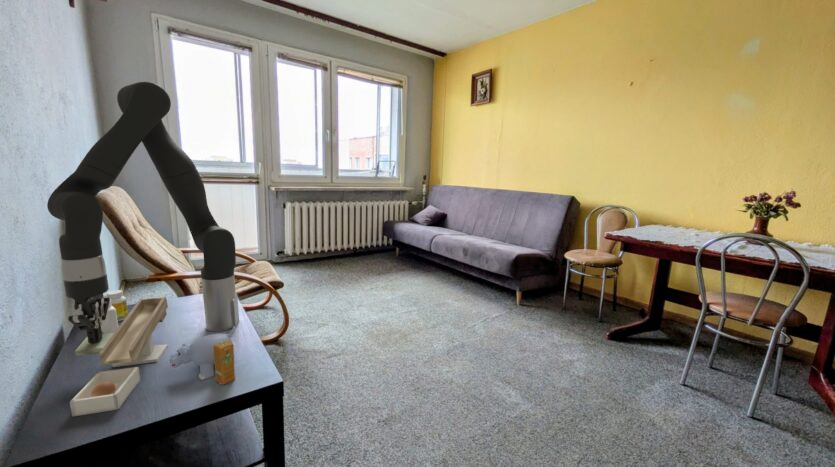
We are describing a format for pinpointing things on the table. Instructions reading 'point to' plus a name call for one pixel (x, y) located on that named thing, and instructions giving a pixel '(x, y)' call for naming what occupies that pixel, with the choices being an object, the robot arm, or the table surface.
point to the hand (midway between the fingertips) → (95, 341)
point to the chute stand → (147, 354)
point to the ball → (103, 389)
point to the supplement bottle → (118, 304)
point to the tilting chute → (128, 333)
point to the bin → (88, 404)
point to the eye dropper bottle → (110, 320)
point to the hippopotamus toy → (200, 353)
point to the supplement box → (224, 362)
